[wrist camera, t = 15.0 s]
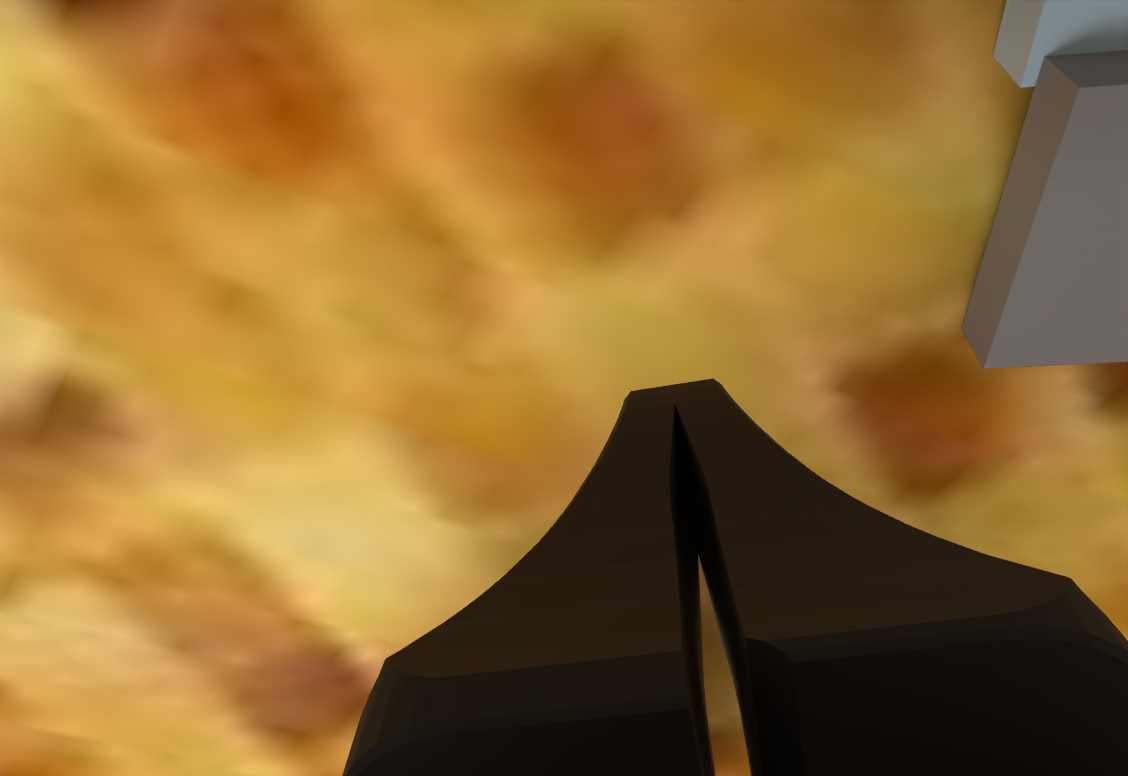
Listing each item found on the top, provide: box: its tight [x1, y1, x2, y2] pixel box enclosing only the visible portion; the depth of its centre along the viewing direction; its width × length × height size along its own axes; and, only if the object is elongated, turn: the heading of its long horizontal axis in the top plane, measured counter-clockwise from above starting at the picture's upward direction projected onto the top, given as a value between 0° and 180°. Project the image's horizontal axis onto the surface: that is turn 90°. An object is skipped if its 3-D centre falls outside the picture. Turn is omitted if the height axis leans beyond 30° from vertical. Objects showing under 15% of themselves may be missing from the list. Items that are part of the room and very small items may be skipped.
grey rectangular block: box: [961, 50, 1128, 369], centre depth 18 cm, size 2×5×7 cm
